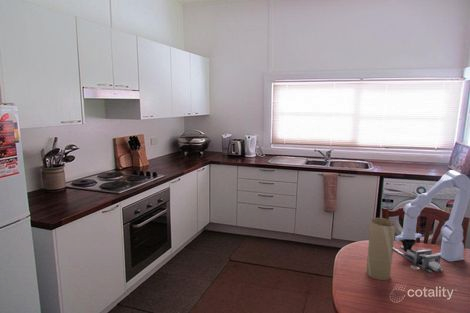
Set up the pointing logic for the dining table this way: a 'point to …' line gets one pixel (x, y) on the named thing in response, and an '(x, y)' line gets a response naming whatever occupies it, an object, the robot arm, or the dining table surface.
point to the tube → (380, 248)
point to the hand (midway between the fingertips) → (406, 252)
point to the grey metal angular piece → (425, 258)
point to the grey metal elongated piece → (431, 263)
